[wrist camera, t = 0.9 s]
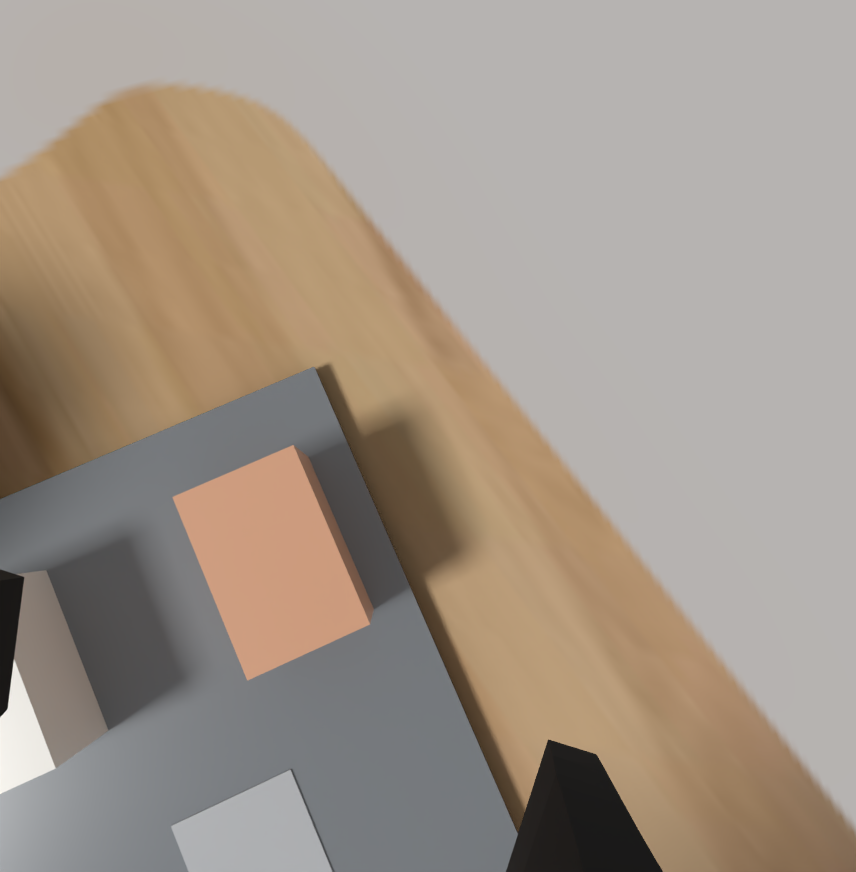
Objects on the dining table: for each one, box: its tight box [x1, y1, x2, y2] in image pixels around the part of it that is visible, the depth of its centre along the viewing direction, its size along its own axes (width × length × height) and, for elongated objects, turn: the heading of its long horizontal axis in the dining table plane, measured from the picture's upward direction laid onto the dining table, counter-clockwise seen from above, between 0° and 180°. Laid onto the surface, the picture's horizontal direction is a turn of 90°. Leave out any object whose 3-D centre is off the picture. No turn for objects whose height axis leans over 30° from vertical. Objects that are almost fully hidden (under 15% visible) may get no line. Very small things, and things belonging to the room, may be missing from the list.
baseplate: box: [0, 367, 518, 872], centre depth 26 cm, size 17×20×1 cm
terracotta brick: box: [172, 445, 374, 681], centre depth 25 cm, size 4×6×4 cm, turn 24°
